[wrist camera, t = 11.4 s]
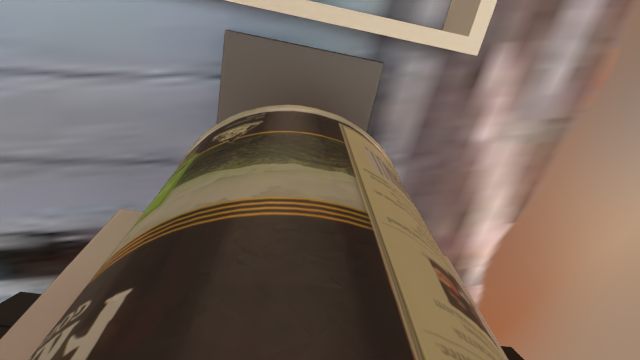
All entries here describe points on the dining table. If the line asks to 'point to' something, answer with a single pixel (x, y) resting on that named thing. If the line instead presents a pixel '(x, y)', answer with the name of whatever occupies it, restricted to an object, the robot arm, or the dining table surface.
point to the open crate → (398, 22)
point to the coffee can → (276, 258)
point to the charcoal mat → (295, 78)
